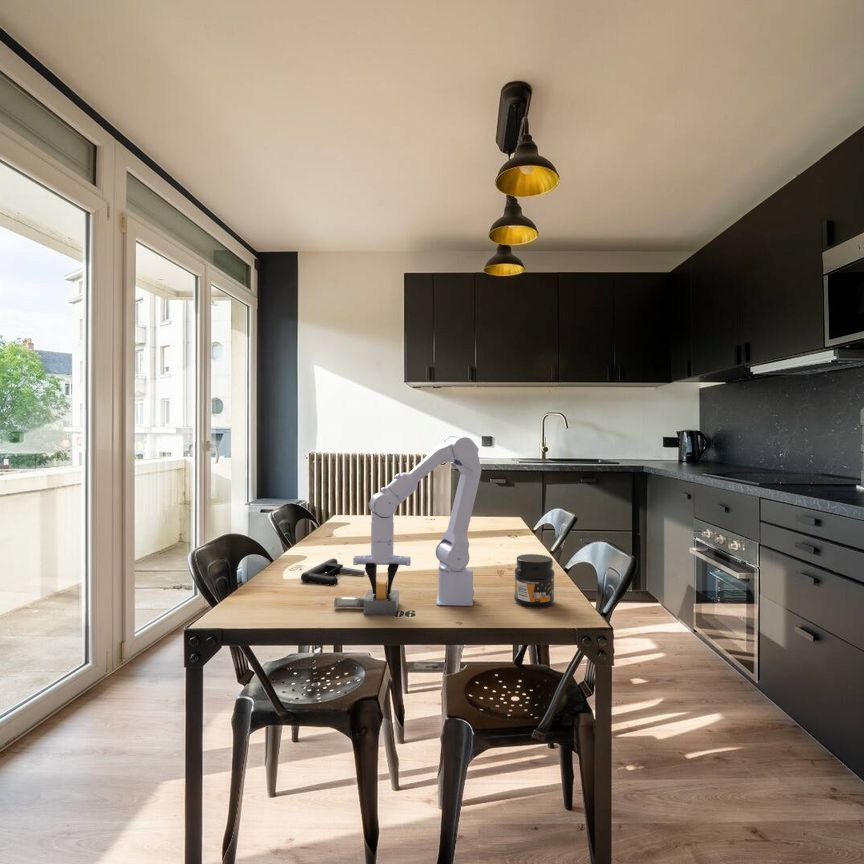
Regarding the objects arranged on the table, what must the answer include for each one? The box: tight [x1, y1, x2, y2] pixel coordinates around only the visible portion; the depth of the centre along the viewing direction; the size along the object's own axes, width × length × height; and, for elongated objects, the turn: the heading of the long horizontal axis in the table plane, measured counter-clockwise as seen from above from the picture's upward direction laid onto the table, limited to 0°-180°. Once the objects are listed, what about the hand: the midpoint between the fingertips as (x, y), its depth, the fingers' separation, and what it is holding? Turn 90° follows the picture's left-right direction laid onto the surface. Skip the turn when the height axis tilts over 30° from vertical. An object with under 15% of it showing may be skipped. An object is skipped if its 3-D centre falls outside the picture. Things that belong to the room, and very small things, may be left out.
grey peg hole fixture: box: [333, 589, 400, 616], centre depth 142 cm, size 16×9×4 cm, turn 89°
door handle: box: [300, 558, 366, 586], centre depth 172 cm, size 3×20×16 cm
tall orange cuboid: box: [376, 579, 388, 599], centre depth 142 cm, size 2×4×7 cm, turn 179°
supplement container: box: [514, 553, 556, 609], centre depth 148 cm, size 10×10×12 cm
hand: (381, 592), depth 142 cm, fingers open, 3 cm apart
